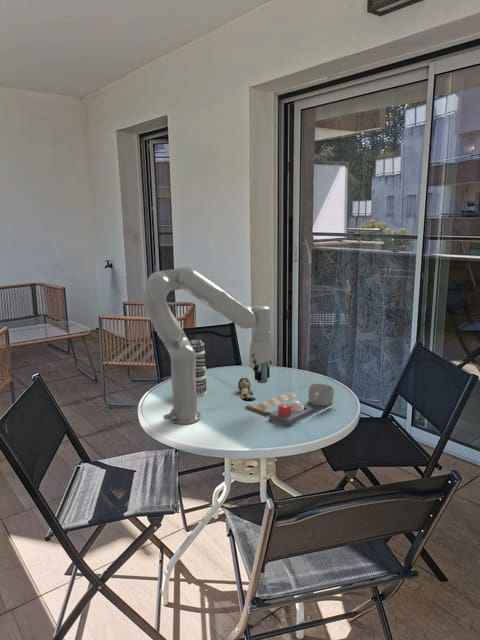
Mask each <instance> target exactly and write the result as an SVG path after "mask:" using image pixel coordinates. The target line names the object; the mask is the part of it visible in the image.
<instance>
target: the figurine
mask: <svg viewBox="0 0 480 640" xmlns="http://www.w3.org/2000/svg"><path fill="white" fill-rule="evenodd" d="M251 388H252V386H251V381H250V380H249V378H247V377H241V378H240V379H239V380H238V384H237V389H238V390H237V391H236V392H235V395H236V396H237V395H238V394H240V399H241V400H242V399H243V398H244V397H246V399H250V394H251V395H254V391H252V390H250V389H251Z"/></svg>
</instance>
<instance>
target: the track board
mask: <svg viewBox="0 0 480 640" xmlns="http://www.w3.org/2000/svg"><path fill="white" fill-rule="evenodd" d="M296 396H298V394H294V393H292V392H288V391H287V392H285V393H283V394H281V395H279V396H275V397H273V398H271V399H268V400H266V401H264V402H262V403H259V404H257V405H253V406H252V405H250V404H247V405H245V409H248V410H250V411H253V412H255V413H258V414H260V415H264V416H269V413H271V412H270V411H266V410H268V409H270V408H271V407H274V406H276V405H278V404H279V405H280V403H283V402H285V401H287V400H289V399H292V398H294V397H296Z"/></svg>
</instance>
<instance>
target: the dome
mask: <svg viewBox="0 0 480 640" xmlns="http://www.w3.org/2000/svg"><path fill="white" fill-rule="evenodd" d="M289 404H290V405H291V411H292V412H295V413H300V412H302V411H304V406H303V405H304V404H302V402H300V400H294V401H292V402H291V403H289Z"/></svg>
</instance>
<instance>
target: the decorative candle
mask: <svg viewBox="0 0 480 640" xmlns="http://www.w3.org/2000/svg"><path fill="white" fill-rule="evenodd" d="M189 342H190V344H191V345H192V347H193V349H194V351H195V355H196V367H195V376H196V397H201V396H202V395H203V396H205V395H206V394H207V390H208V389H207V387H208V386H207V377H206V369H207V367H206V366H207V363H206V362H207V360H206V358H207V356H206V355H207V352H206V351H205V342H203V341H202V340H201V339H191V340H189Z"/></svg>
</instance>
